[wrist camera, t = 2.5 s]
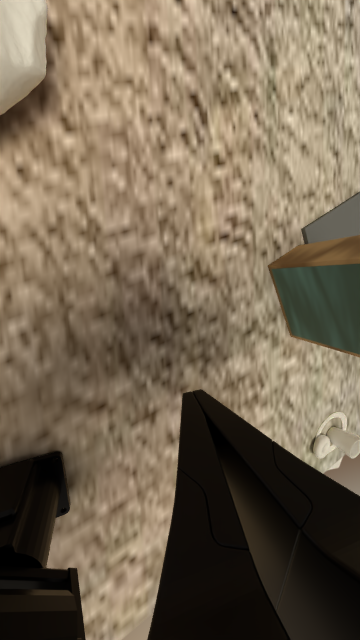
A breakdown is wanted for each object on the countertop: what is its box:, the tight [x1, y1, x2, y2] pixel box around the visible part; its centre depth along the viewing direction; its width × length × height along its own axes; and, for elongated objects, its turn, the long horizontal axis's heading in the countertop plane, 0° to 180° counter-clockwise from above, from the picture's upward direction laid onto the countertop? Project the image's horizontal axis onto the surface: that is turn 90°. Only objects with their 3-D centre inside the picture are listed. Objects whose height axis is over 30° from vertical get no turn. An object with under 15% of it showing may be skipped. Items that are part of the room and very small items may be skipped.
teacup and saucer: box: [313, 412, 360, 470], centre depth 32 cm, size 9×8×4 cm
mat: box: [302, 192, 360, 244], centre depth 27 cm, size 16×13×1 cm
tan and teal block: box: [268, 235, 360, 357], centre depth 19 cm, size 5×10×12 cm, turn 29°
